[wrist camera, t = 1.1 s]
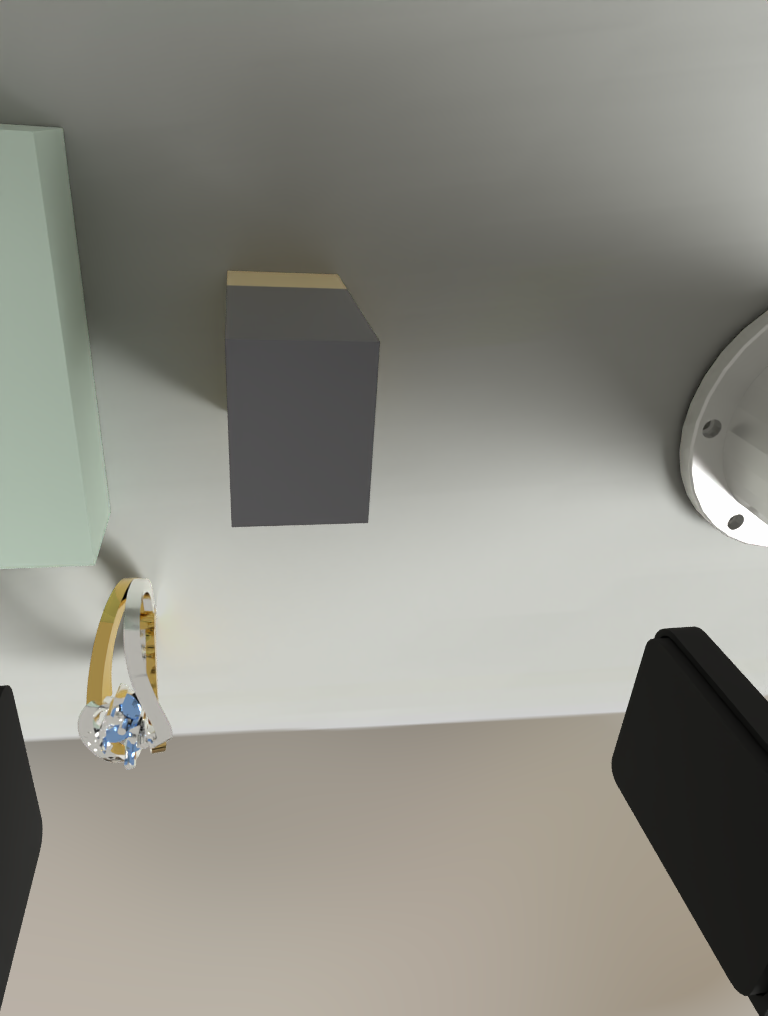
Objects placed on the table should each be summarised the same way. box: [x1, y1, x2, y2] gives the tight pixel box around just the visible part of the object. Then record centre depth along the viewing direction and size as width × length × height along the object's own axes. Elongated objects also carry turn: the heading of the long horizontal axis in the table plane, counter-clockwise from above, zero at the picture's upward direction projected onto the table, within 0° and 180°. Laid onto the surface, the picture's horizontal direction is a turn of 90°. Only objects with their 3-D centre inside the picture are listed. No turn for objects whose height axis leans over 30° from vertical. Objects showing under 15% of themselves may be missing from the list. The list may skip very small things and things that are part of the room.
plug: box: [225, 271, 380, 527], centre depth 24 cm, size 4×6×9 cm
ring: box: [78, 578, 172, 770], centre depth 29 cm, size 7×3×8 cm, turn 173°
